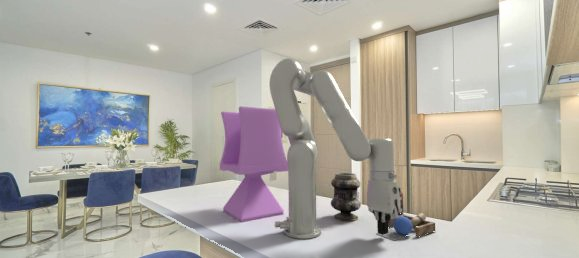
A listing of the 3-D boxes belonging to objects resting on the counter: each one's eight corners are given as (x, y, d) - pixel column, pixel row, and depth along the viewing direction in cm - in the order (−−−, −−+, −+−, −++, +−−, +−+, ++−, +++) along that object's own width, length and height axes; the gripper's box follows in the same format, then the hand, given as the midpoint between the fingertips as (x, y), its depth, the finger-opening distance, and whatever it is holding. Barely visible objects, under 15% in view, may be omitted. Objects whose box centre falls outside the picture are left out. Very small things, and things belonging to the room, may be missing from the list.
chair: (219, 211, 116) (220, 111, 118) (262, 204, 129) (263, 114, 131) (239, 223, 97) (240, 106, 100) (288, 214, 110) (287, 110, 113)
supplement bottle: (405, 215, 108) (404, 188, 109) (390, 214, 109) (389, 188, 110) (401, 211, 114) (401, 186, 114) (387, 211, 115) (387, 185, 116)
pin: (407, 226, 88) (424, 214, 90) (401, 223, 90) (419, 212, 93) (409, 232, 88) (426, 220, 91) (404, 230, 90) (421, 218, 93)
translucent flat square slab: (394, 240, 80) (394, 240, 80) (376, 234, 86) (376, 233, 86) (409, 235, 85) (409, 235, 85) (391, 229, 91) (391, 229, 91)
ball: (418, 223, 86) (409, 238, 87) (401, 212, 90) (393, 226, 91) (413, 224, 81) (403, 240, 82) (396, 212, 85) (387, 227, 86)
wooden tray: (418, 237, 83) (418, 228, 83) (386, 227, 93) (386, 218, 93) (435, 231, 89) (435, 222, 89) (403, 222, 99) (403, 214, 99)
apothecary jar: (367, 220, 102) (366, 174, 103) (341, 223, 98) (340, 175, 99) (349, 212, 113) (348, 171, 114) (325, 215, 109) (325, 172, 110)
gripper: (409, 177, 80) (411, 238, 79) (371, 173, 92) (372, 225, 91) (394, 179, 76) (396, 243, 75) (356, 174, 88) (357, 228, 87)
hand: (382, 233), depth 83 cm, fingers closed
